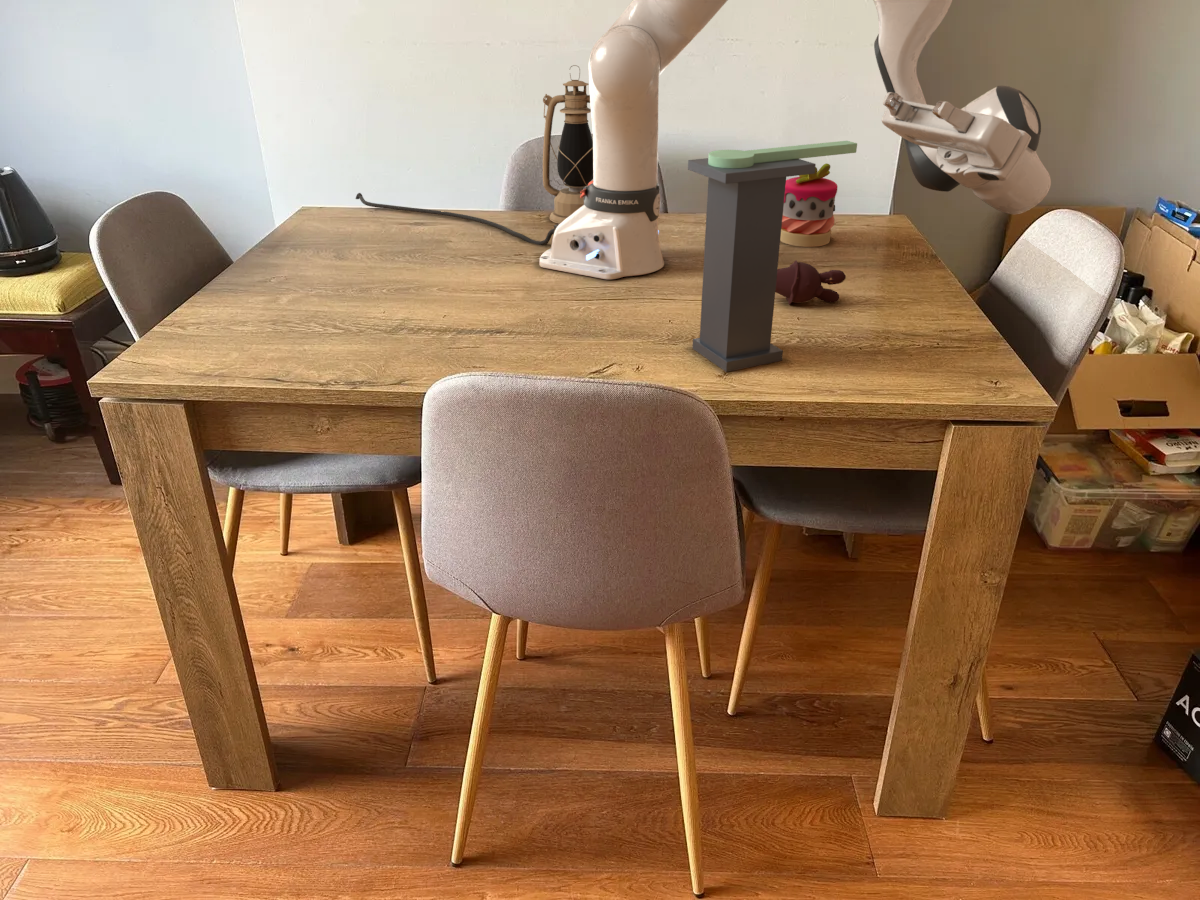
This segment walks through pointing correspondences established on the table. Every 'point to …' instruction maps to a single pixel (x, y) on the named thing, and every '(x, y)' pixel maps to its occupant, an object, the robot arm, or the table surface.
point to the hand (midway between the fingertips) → (912, 101)
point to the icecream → (807, 283)
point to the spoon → (777, 154)
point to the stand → (742, 260)
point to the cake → (809, 209)
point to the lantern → (569, 150)
